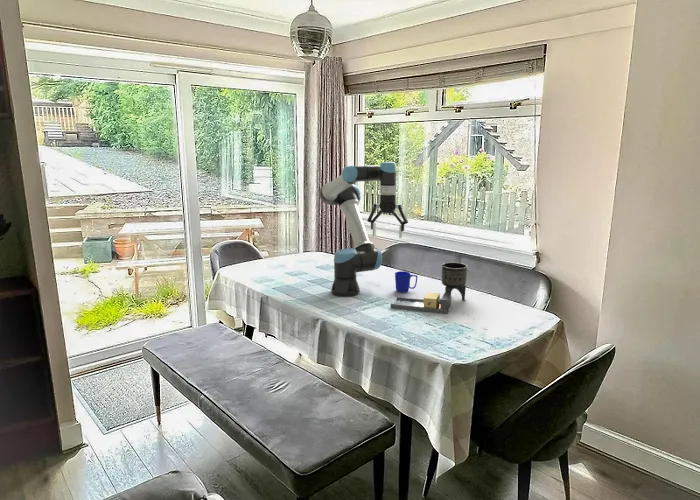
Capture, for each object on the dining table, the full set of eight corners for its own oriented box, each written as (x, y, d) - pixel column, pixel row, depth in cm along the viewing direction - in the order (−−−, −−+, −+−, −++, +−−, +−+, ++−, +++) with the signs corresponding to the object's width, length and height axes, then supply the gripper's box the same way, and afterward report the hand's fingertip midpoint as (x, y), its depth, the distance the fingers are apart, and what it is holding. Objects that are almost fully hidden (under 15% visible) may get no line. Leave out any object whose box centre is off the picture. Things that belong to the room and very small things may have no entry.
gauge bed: (390, 308, 230) (390, 303, 230) (397, 300, 241) (397, 296, 241) (446, 314, 221) (446, 310, 221) (450, 306, 232) (450, 302, 232)
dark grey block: (440, 311, 222) (440, 299, 220) (444, 303, 233) (444, 292, 231) (446, 312, 221) (447, 300, 219) (450, 304, 232) (451, 292, 230)
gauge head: (422, 309, 223) (422, 299, 222) (427, 301, 234) (427, 292, 233) (437, 311, 221) (437, 301, 220) (441, 303, 232) (442, 293, 231)
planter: (467, 296, 247) (468, 263, 243) (464, 304, 235) (466, 269, 231) (442, 294, 251) (443, 261, 247) (438, 301, 239) (439, 267, 235)
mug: (416, 294, 251) (417, 275, 249) (393, 292, 254) (394, 274, 252) (417, 289, 259) (418, 271, 257) (395, 288, 262) (395, 270, 259)
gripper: (361, 194, 232) (361, 236, 237) (411, 195, 224) (410, 239, 228) (365, 192, 239) (365, 234, 243) (414, 194, 230) (413, 236, 235)
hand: (387, 236), depth 236 cm, fingers open, 13 cm apart
